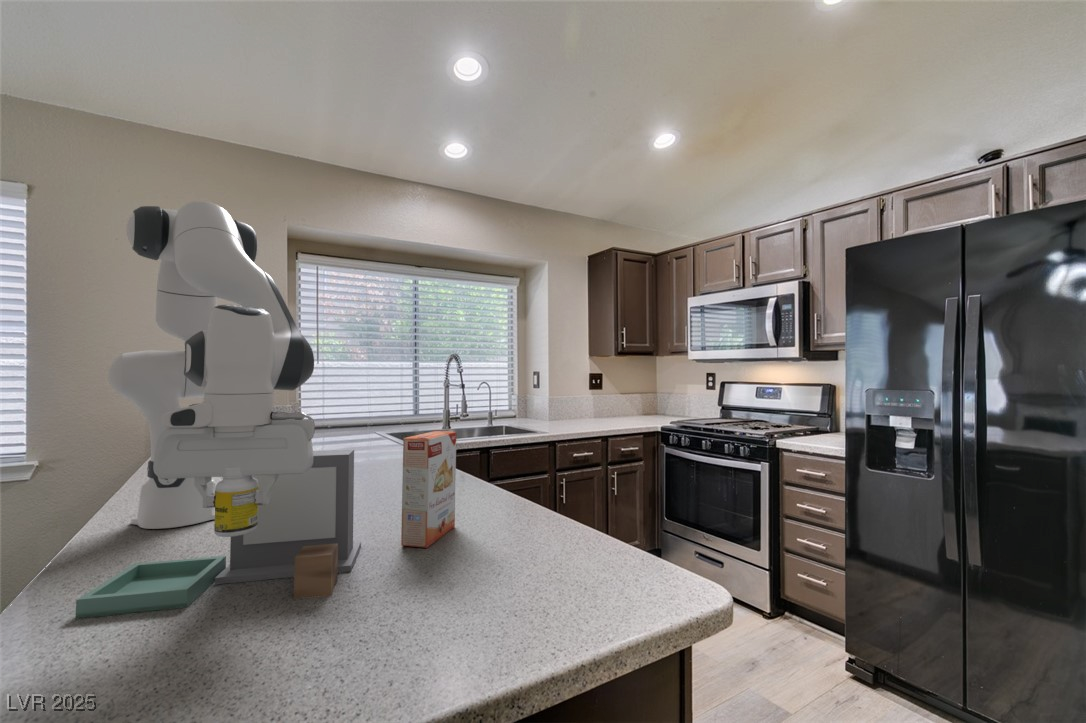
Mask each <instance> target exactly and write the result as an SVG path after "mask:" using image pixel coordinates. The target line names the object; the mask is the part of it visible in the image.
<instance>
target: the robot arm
mask: <svg viewBox="0 0 1086 723" xmlns="http://www.w3.org/2000/svg"><path fill="white" fill-rule="evenodd" d="M126 237H127V239H128V241H129V243H130V245H131V249H132V250H133V251H134V252H135V253H136V254H137V255H138V256H140V257H143V258H146V259H149V260H153V261H158V260H160V264H159V268H158V269H159V270H158V275H157V283H156V297H155V298H156V299H155V300H156V302H155V323H156V324H157V326H158V327H159V328H160V330H162V331H164V332H165V333H166V334H169V335H170V336H173V337H175V338H177V339H180V340H182V341H184V351H183V350H180V351H179V350H152V349H151V350H149V349H148V350H140V351H129V352H124V353H120V355H118V356H117V357H116V358H115V359H114V360H113V361H112V363H111V364H110V365H109V369H108V376H107V378H108V382H109V384H110V386H111V388H112V389H113V391H114V392H116V393H117V395H119V396H120V397H123V398H124V399H126V400H128V401H129V402H131V403H132V404H133V405H135V406H136V407H137V408H138V410H139V411H140V412H141V414H143V416H144V418H145V420H146V422H147V425H148V427H149V428H148V429H149V437H150V438H149V439H150V460H149V461H148V462H147V467H146V471H147V478H148V480H147V481H146V482H145V483H143V485H141V487H140V492H139V501H138V507H137V515H136V517H132V518H131V520H130V524H131V525H137V526H138V527H139V528H142V529H146V530H147V529H148V530H149V529H152V530H155V529H157V530H158V529H161V530H162V529H172V528H178V527H179V528H180V527H185V526H190V525H195V524H199V523H204V522H207V521H211V520H215V487H216V485H217V484H218V483H219V482H220V481H222V480H223V477H224V474H225V469H226V468H240V471H241V474H242V476H254V475H264V482H268V484H267V485H266V487H265V488H264V490H263V491H259V492H258V493H256V494H255V499H256V501H255V505H267V504H268V503H269V501H270V491H271V490H272V488H273V487H274V485H275V483H276V482H277V480H278V475H281V474H303V473H305V472H306V471H308V470H309V469H310V468H311V467H312V465H313V451H314V448H313V442H312V439H313V438H314V436H315V429H316V428H315V425H316V423H315V421H314V419H313V418H312V417H311V416H310V415H308V414H305V412H302V411H295V412H286V411H285V412H284V411H281V412H280V411H279V412H278V411H275V412H274V407H275V404H274V403H275V402H274V400H275V398H274V397H275V393H274V392H275V390H279V391H295V390H297V389H298V388H300V387H301V386H302V385H303V384H305V383H306V382H307V381H308V380H309V379H310V378H311V376H312V375H313V373H314V369H315V356H314V352H313V349H312V346H311V344H310V343H309V342H308V341H307V339H306V338H305V337H304V335H303V334H302V332H301V330H300V329H299V328H298V326H297V324H296V321H295V320H294V318H293V316H292V313H291V312H290V310H289V308H288V306H287V304H286V302H285V300H284V298H283V296H282V293H281V291H280V290H279V287H278V285H276V283H275V281H274V279H273V278H272V277H271V275H270V274H268V273H267V272H266V271H265V270H263V269H261V268H260V267H259V266H258V265H256V264H255V261H256V258H257V256H258V253H259V249H260V248H259V241H258V238H257V233H256V231H255V230H254V229H253V227H252V226H251V225H249V224H247V223H245V222H242V221H239V220H236V219H234V220H233V218H232V216H231V215H230V213H229V212H228V211H227V210H226V209H224V207H221V205H219V204H217V203H213V202H210V201H208V200H207V201H206V200H194V201H190V202H188V203H185V204H184V205H182V206H181V207H180V208H179V209H172V208H170V209H169V208H161V207H160V206H158V205H157V206H155V205H154V206H153V205H145V206H144V205H143V206H139V207H138V208H135V209H133V212H132V214H131V215H130V217H129V218H128V220H127V223H126ZM218 298H219V299H222V300H225V301H228V302H232V303H235V304H218V302H219V301H218ZM237 304H238V305H237ZM195 398H196V399H201V398H203V400H202V402H200V403H192V404H189V405H188V406H186V407H181V406H180V403H179V401H180V400H181V399H182V400H183V399H195ZM221 478H222V479H221Z"/></svg>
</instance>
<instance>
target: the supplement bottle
mask: <svg viewBox="0 0 1086 723" xmlns="http://www.w3.org/2000/svg"><path fill="white" fill-rule="evenodd" d="M256 493H258V481H257V479H255V478H253V477H251V476H242V474H241V471H240V468H226V469H225V474H224V477H222V481H220V482H219V483H218V484H217V485H216V487H215V519H214V527H213V528H214V534H215V535H216V536H217V537H222V538H231V537H233V536H239V535H243V534H247V533H250V532H252V531H254V530H255V529H256V528H257V525H258V505H255V501H256V499H255V494H256Z"/></svg>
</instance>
